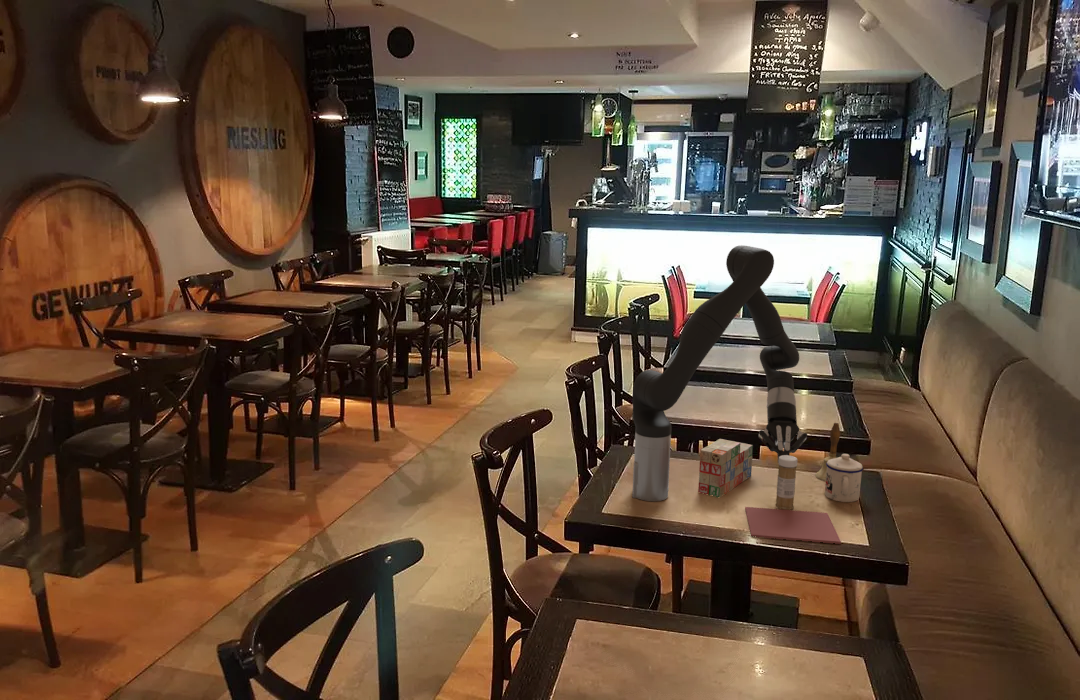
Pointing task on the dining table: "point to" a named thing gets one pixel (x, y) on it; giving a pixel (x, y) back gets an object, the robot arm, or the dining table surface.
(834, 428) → the hand bell
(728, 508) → the dining table surface
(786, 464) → the sprinkles bottle
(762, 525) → the mat
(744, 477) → the stack of blocks
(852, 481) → the teacup with lid
